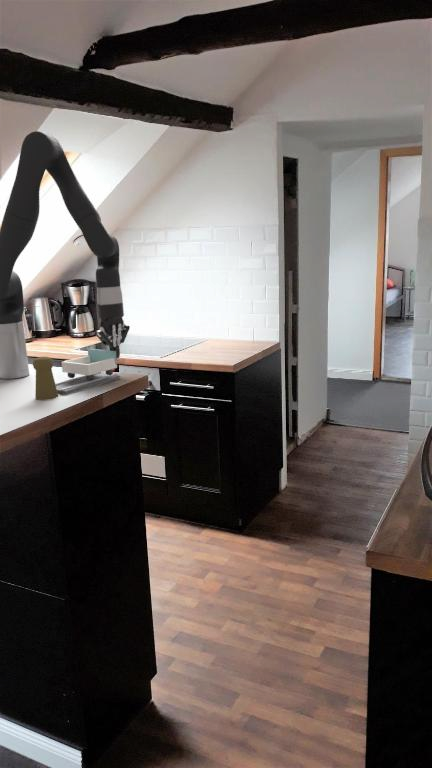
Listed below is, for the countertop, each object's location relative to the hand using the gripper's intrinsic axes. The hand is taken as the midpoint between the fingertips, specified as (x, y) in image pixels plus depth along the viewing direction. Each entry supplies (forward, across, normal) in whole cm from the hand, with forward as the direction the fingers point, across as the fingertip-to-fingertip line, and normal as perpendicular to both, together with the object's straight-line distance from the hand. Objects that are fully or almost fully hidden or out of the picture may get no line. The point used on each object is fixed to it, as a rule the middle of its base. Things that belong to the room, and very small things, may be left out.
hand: (115, 358), depth 185 cm
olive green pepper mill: (+5, +28, +2) cm, 29 cm away
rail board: (+5, +14, 0) cm, 15 cm away
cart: (+4, +10, 0) cm, 11 cm away
